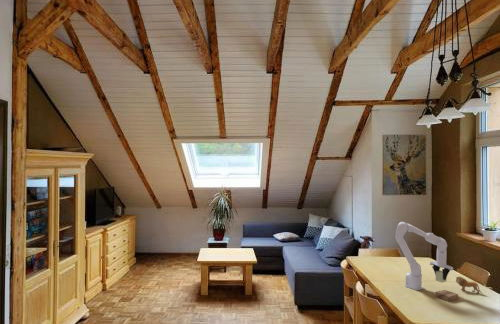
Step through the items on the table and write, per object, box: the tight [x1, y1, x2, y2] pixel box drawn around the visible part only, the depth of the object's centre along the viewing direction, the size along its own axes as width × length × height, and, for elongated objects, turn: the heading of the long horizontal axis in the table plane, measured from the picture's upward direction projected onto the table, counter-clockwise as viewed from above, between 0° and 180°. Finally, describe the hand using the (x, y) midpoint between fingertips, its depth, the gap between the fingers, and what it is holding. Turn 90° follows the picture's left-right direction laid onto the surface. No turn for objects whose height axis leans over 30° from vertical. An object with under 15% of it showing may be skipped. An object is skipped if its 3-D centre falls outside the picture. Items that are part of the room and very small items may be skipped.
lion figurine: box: [455, 276, 482, 295], centre depth 242 cm, size 15×5×9 cm, turn 67°
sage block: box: [435, 270, 447, 283], centre depth 241 cm, size 4×4×6 cm
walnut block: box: [434, 289, 459, 303], centre depth 229 cm, size 9×9×4 cm
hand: (441, 278), depth 241 cm, fingers closed on sage block, 4 cm apart
